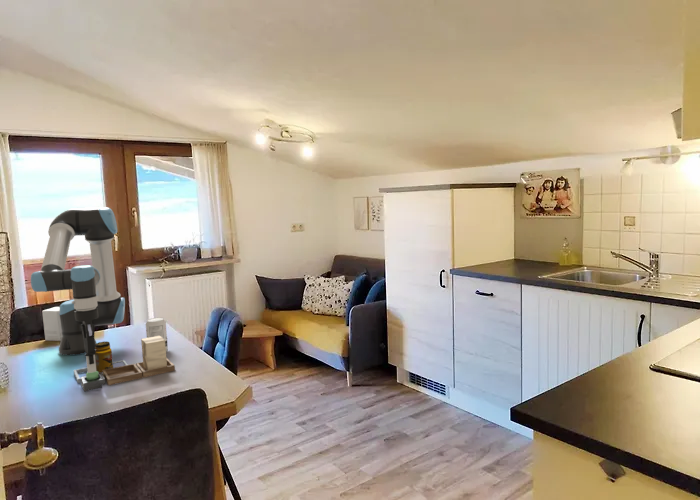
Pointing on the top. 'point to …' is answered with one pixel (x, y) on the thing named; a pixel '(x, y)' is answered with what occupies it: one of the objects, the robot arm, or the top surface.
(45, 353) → the top surface
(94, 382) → the button housing
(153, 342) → the block
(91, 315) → the robot arm
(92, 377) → the button
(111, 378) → the brown divided tray
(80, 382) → the frame
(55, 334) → the supplement box
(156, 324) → the supplement can
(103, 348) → the condiment
